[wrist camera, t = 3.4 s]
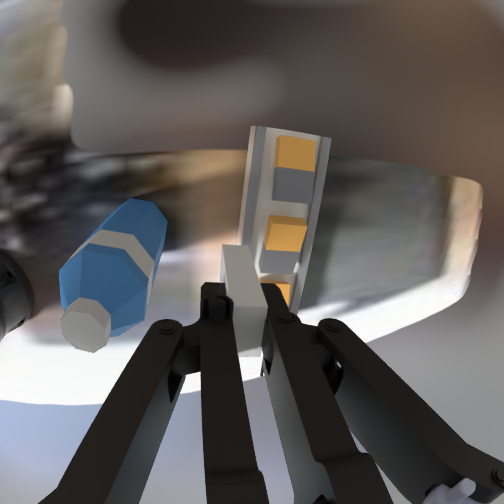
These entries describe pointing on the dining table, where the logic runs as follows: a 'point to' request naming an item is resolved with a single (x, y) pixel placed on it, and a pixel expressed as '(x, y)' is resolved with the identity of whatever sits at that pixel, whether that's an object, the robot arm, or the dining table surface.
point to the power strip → (278, 203)
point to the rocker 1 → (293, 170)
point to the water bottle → (112, 275)
